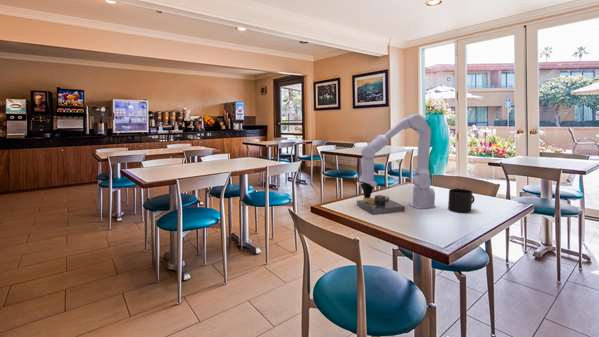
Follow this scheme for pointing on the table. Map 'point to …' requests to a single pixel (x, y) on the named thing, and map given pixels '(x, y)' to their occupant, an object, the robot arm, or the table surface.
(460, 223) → the table surface
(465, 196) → the mug
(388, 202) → the tribrach base
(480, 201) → the table surface
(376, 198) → the level knob
